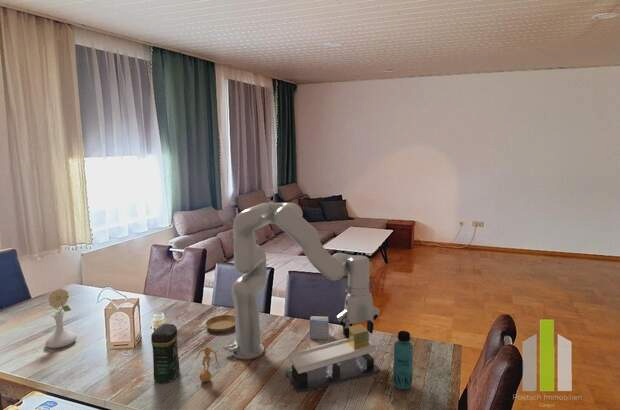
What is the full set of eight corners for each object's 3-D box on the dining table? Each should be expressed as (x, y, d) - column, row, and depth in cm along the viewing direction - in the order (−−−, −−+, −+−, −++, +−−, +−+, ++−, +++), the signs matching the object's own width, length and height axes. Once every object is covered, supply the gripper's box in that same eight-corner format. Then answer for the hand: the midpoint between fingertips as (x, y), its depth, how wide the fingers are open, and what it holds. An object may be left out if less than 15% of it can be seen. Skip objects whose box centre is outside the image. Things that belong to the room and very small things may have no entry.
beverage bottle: (390, 382, 139) (391, 328, 136) (408, 381, 140) (410, 327, 137) (395, 394, 133) (396, 337, 130) (415, 393, 133) (416, 336, 130)
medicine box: (328, 335, 174) (328, 316, 173) (328, 340, 170) (328, 320, 169) (310, 334, 175) (310, 315, 174) (309, 339, 171) (309, 320, 169)
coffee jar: (173, 383, 140) (169, 334, 138) (150, 383, 141) (146, 334, 138) (183, 368, 150) (179, 321, 147) (162, 368, 150) (158, 321, 147)
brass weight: (354, 350, 144) (353, 334, 143) (346, 342, 150) (346, 327, 149) (369, 345, 146) (368, 330, 145) (361, 338, 152) (360, 323, 151)
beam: (298, 373, 135) (298, 367, 134) (289, 359, 143) (289, 353, 143) (376, 351, 145) (376, 345, 145) (363, 339, 154) (363, 333, 154)
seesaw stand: (297, 393, 134) (297, 375, 133) (286, 374, 145) (285, 357, 144) (380, 372, 146) (380, 355, 145) (363, 356, 157) (364, 340, 156)
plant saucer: (202, 323, 187) (202, 318, 187) (233, 317, 194) (233, 312, 193) (209, 337, 174) (208, 331, 174) (242, 330, 180) (242, 324, 180)
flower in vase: (39, 347, 167) (32, 290, 163) (65, 335, 177) (58, 281, 173) (61, 353, 162) (54, 294, 158) (86, 340, 172) (80, 285, 168)
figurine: (192, 382, 141) (190, 351, 139) (200, 373, 147) (198, 342, 145) (213, 386, 139) (211, 353, 137) (221, 376, 145) (219, 345, 143)
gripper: (341, 297, 138) (341, 343, 141) (384, 289, 144) (384, 334, 147) (332, 290, 145) (332, 334, 147) (374, 283, 151) (373, 325, 154)
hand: (358, 334), depth 147 cm, fingers open, 9 cm apart
